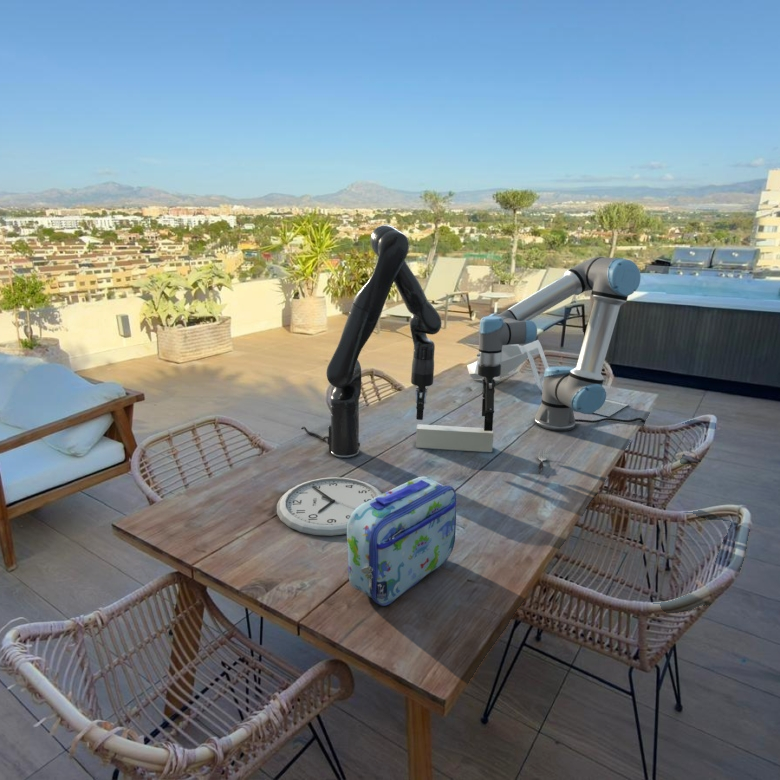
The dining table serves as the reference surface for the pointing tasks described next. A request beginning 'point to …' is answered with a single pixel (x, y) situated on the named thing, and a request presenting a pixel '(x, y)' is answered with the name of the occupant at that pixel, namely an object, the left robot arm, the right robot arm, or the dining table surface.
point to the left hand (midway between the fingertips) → (420, 415)
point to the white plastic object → (515, 360)
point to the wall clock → (324, 504)
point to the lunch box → (400, 538)
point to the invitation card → (610, 408)
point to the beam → (454, 438)
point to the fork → (542, 460)
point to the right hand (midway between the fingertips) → (486, 423)
